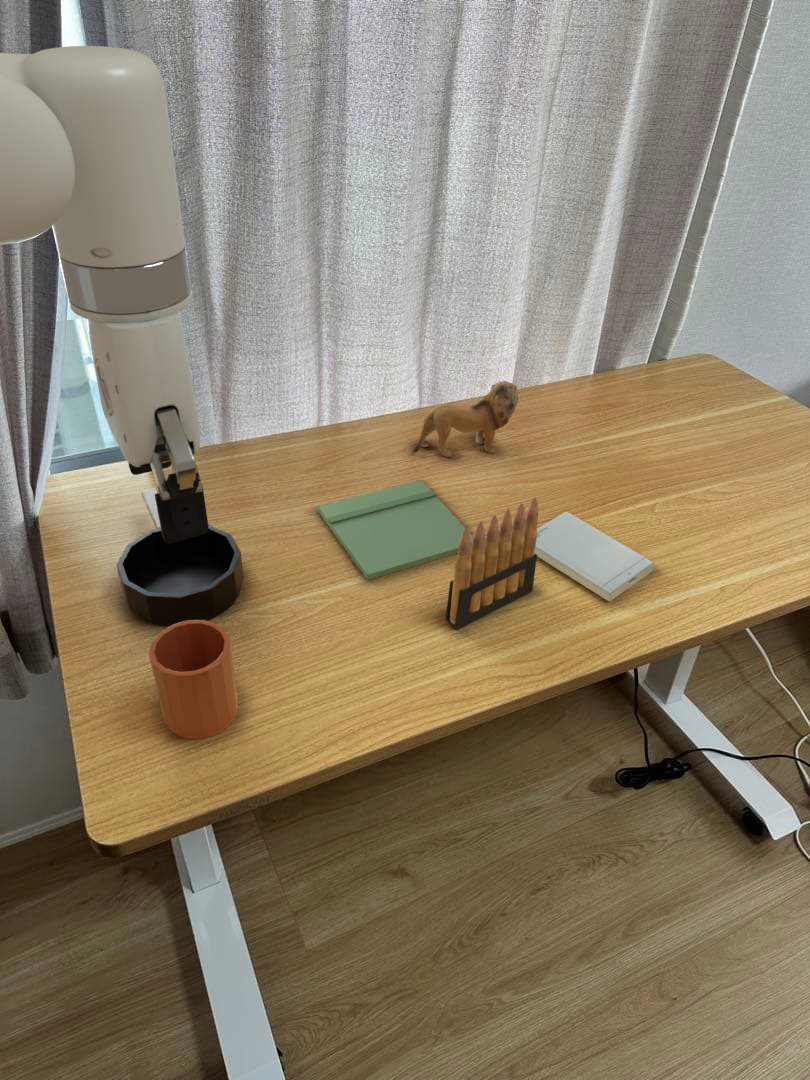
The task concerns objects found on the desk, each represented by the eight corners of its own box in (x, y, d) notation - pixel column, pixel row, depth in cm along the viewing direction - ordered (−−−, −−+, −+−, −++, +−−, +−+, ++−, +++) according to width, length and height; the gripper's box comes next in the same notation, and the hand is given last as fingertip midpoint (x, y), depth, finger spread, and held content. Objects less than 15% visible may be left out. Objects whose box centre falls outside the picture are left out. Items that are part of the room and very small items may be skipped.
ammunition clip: (456, 630, 81) (465, 536, 74) (444, 620, 82) (452, 526, 75) (532, 591, 87) (548, 499, 79) (520, 581, 88) (535, 490, 80)
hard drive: (522, 536, 92) (611, 591, 84) (567, 510, 96) (655, 560, 89) (520, 547, 93) (608, 603, 85) (565, 521, 97) (652, 571, 90)
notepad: (367, 580, 87) (367, 572, 86) (318, 511, 97) (317, 504, 96) (478, 547, 92) (478, 539, 92) (421, 485, 102) (421, 478, 101)
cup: (174, 749, 69) (160, 685, 64) (156, 696, 73) (141, 633, 68) (247, 723, 71) (239, 660, 66) (225, 674, 76) (216, 611, 71)
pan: (139, 641, 79) (132, 610, 76) (100, 529, 93) (93, 500, 90) (257, 606, 83) (254, 576, 81) (203, 504, 97) (199, 476, 95)
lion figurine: (502, 431, 114) (510, 372, 108) (519, 449, 110) (528, 390, 104) (405, 446, 109) (407, 386, 104) (419, 466, 106) (422, 405, 100)
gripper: (42, 244, 55) (93, 457, 66) (95, 340, 43) (147, 582, 54) (152, 231, 58) (184, 437, 68) (230, 318, 46) (254, 551, 57)
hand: (167, 501), depth 61 cm, fingers open, 9 cm apart
